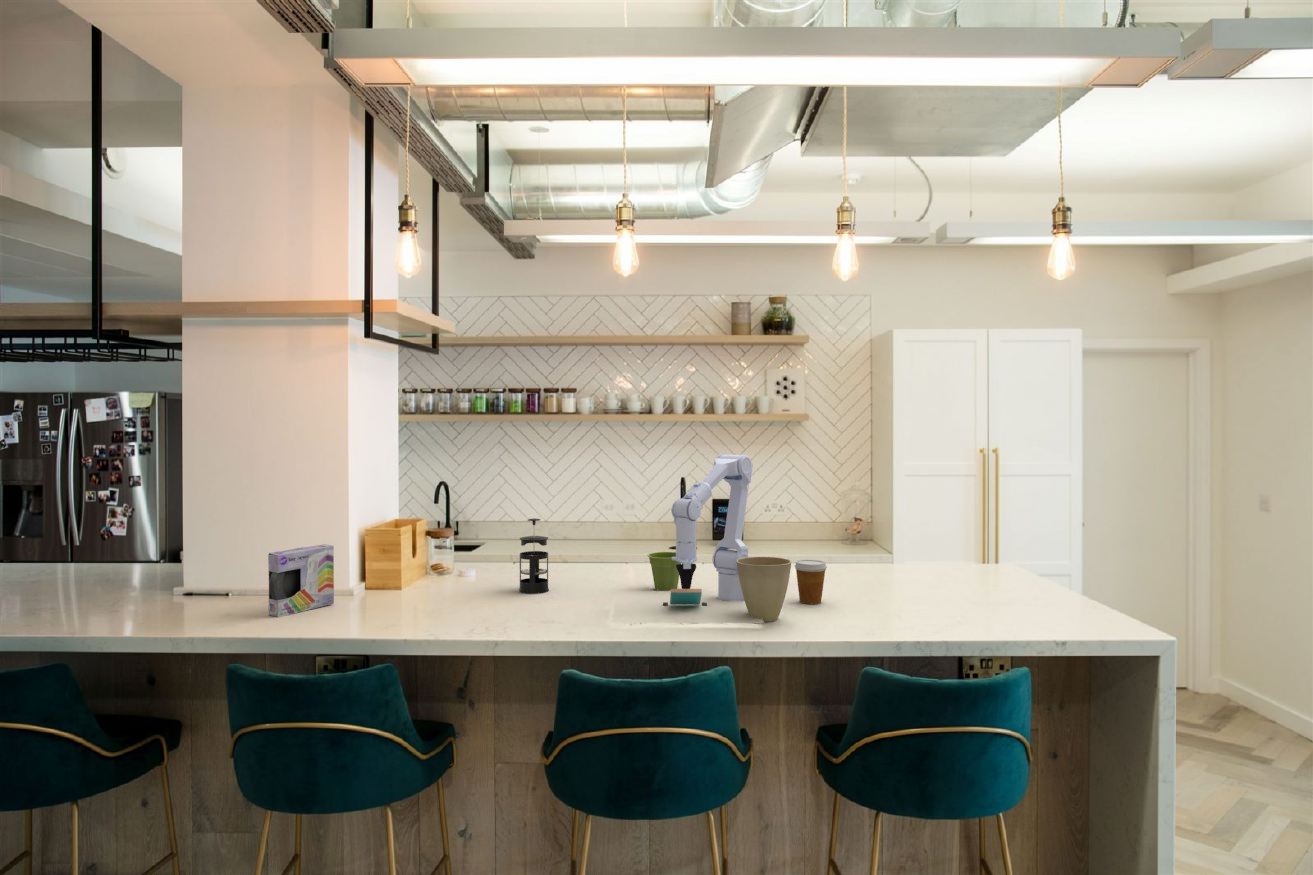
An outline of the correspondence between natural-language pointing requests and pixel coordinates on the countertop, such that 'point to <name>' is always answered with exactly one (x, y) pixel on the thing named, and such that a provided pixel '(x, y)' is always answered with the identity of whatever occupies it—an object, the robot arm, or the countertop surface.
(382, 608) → the countertop surface
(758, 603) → the plant pot
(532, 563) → the french press
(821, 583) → the disposable coffee cup
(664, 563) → the plant pot
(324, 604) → the cake pan box
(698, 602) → the tile
